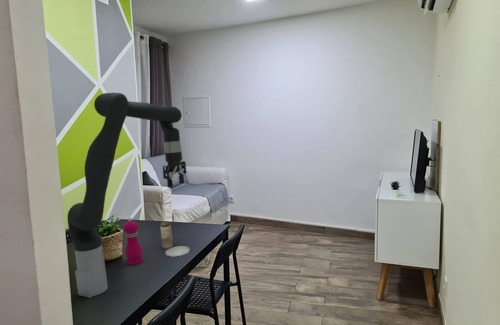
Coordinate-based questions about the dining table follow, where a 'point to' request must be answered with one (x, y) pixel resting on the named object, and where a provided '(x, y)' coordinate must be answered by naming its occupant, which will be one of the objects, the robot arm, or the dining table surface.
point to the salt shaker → (166, 235)
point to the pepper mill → (132, 243)
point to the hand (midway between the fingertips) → (176, 185)
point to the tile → (177, 251)
